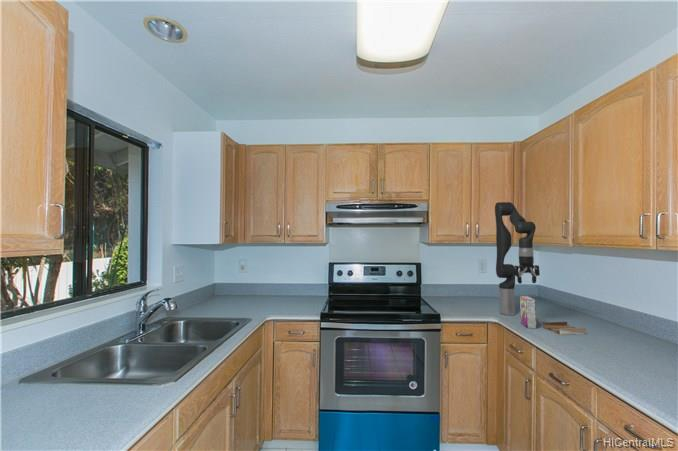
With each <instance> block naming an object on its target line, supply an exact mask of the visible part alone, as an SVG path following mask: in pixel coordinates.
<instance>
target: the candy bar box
mask: <svg viewBox="0 0 678 451" xmlns="http://www.w3.org/2000/svg"><path fill="white" fill-rule="evenodd" d="M519 306H520V307H519V308H520V323H521V324H522V326H524V327H525V328H527V329H533V330H535V329H537V313H536V312H537V309H536V300H535V299H534V298H532V297H531V296H529V295H528V296H527V295H524V296H523V295H521V296H519Z"/></svg>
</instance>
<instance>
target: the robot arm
mask: <svg viewBox="0 0 678 451" xmlns="http://www.w3.org/2000/svg"><path fill="white" fill-rule="evenodd" d="M494 215H495V227H496V229H495V230H496V231H495V237H496V238H495V239H496V243H495V244H496V262H495V274H496V276H497V277H498V278H499V279H505V280H504V281H502V282H500V283H499V284H498V289H499V290H498V294H499V298H498V308H499V311H498V312H499V314H501V315H505V316H514V315H516V296H515V295H516V294H515V293H516V292H515V284H516V279H517V283H518V284H519V285H520V284H523V283H522V281H523V279H522V276H523V275H524V274H530V275H531V283H532V284H536V283H537V277H538V276H540V267H539V265H537V264H535V265H534V259H535V258H534V248H533V247H534V245H533V240H534V236H535V232H536V227H537V226H536V224H535V223H534V222H533V221H527V220H526V219H525V217H524V216H522V215H521V213H519V211H518V209H517V208H516V207H515V205H514V203H512V202H510V201H505V202H503V201H501V202H500V201H499V202H496V203H495V206H494ZM503 216H504V217H508V216H509V222H510V224H512V225H513V228H514V231H515V233H517V234H519V235H520V234H526V236H523V237H520V238H519V239H518V263H519V265H513V264H512V263H511V264H510V263H506V264H505V257H506V255H507V254H508V252H509V250H510V249H511V247H512V242H513V241H512V234H511V232H510V230H509V229H508V227H507V226H506V225H505V223H504V219H503ZM516 277H517V278H516Z"/></svg>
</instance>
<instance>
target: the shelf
mask: <svg viewBox="0 0 678 451" xmlns="http://www.w3.org/2000/svg"><path fill="white" fill-rule="evenodd" d="M542 328H543V329H545V330H547V331H550V332H553V333H555V334H557V335H560V336H573V335H572V334H576V335H586V334H587V332H586V331H587V330H586V327H575V326H572V325H569V324H568V322H567V321H544V322H542Z"/></svg>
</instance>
